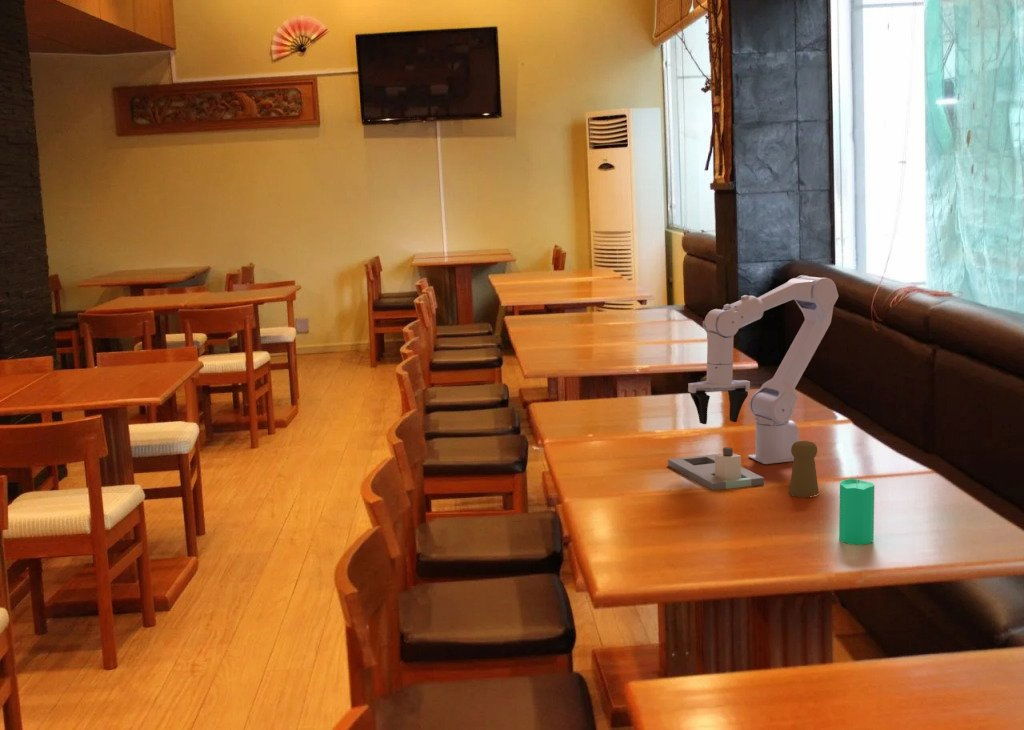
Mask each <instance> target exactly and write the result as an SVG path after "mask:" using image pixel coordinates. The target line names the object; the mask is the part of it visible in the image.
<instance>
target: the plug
mask: <svg viewBox="0 0 1024 730" xmlns="http://www.w3.org/2000/svg"><path fill="white" fill-rule="evenodd" d="M733 451H734V450H733V447H729V446H726V447H723V448H722V452H721V453H714V454H715V477H717V478H719V479H721V480H731V479H739V478H741V467H742V455H739V454H737V453H734V452H733Z"/></svg>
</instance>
